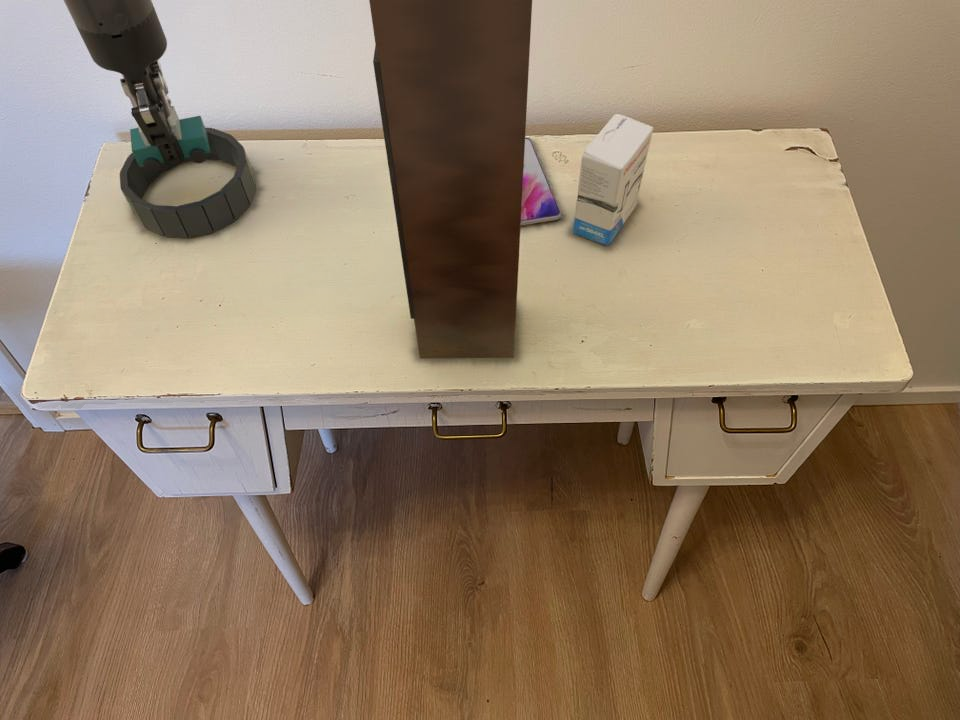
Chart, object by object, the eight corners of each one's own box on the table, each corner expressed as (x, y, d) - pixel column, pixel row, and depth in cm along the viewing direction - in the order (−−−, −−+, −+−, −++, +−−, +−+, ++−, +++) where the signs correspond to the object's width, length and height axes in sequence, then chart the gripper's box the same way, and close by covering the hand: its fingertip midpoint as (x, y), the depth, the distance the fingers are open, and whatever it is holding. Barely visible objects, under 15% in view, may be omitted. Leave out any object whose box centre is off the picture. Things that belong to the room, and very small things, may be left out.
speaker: (416, 359, 77) (361, -14, 44) (419, 305, 81) (371, -73, 48) (513, 358, 77) (533, -15, 44) (512, 305, 81) (528, -75, 48)
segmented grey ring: (138, 250, 86) (122, 223, 82) (132, 169, 94) (117, 141, 90) (263, 221, 88) (253, 194, 85) (246, 145, 96) (237, 117, 92)
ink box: (607, 248, 85) (622, 170, 76) (570, 232, 87) (580, 154, 77) (638, 204, 89) (656, 125, 80) (602, 189, 91) (615, 110, 81)
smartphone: (530, 135, 95) (563, 215, 87) (530, 141, 96) (562, 220, 88) (476, 143, 94) (504, 224, 86) (476, 148, 95) (504, 229, 87)
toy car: (142, 175, 84) (124, 138, 79) (140, 149, 86) (122, 112, 82) (212, 160, 85) (198, 123, 81) (208, 135, 88) (194, 98, 83)
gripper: (71, -22, 74) (137, 119, 88) (72, 56, 66) (144, 196, 81) (147, -34, 75) (200, 107, 89) (156, 41, 68) (213, 182, 82)
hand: (173, 149), depth 85 cm, fingers closed on toy car, 4 cm apart
